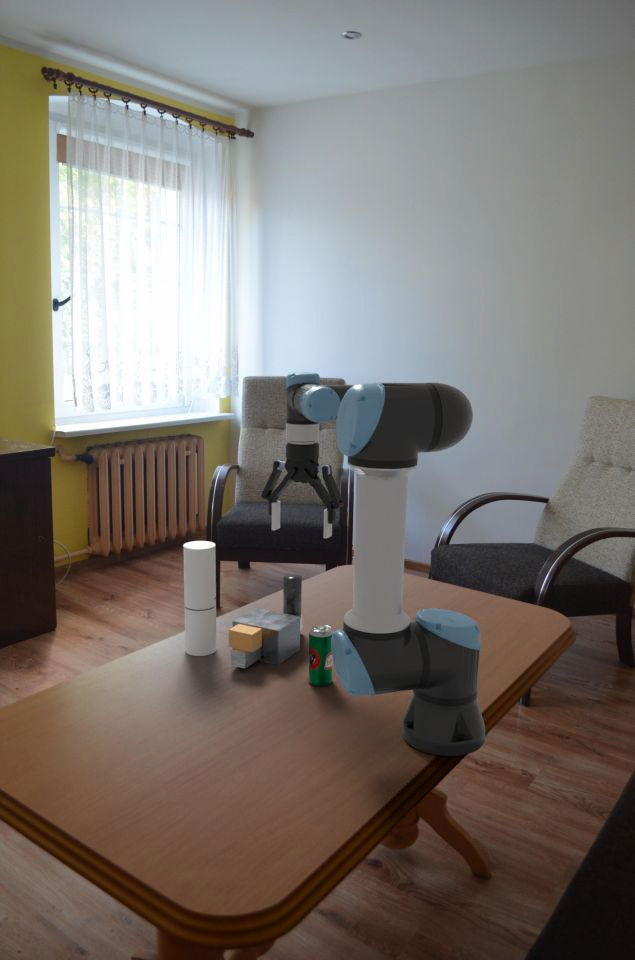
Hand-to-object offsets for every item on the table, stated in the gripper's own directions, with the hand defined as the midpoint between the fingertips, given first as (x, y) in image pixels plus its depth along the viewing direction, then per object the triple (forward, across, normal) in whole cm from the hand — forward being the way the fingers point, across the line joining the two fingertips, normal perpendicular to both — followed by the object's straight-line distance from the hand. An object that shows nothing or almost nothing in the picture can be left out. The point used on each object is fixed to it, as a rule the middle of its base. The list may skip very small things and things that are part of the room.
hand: (301, 533), depth 184 cm
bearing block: (+27, +4, +8) cm, 28 cm away
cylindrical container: (+27, +18, +15) cm, 36 cm away
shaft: (+26, +4, +7) cm, 27 cm away
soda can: (+27, -14, +16) cm, 35 cm away
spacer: (+22, +4, +17) cm, 28 cm away
